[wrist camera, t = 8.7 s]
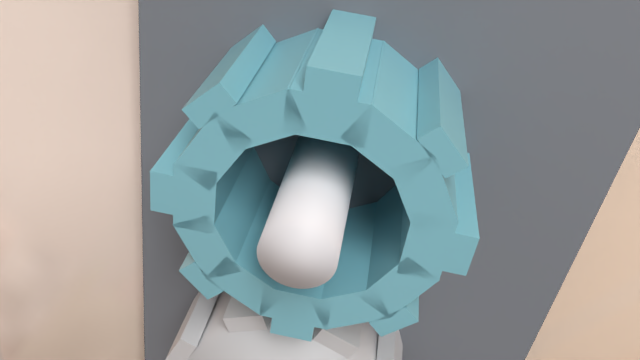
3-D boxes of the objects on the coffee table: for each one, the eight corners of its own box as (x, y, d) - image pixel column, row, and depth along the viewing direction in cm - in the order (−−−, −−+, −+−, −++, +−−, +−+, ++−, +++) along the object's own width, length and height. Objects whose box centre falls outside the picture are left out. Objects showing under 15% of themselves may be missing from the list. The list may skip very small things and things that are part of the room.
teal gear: (431, 270, 17) (432, 368, 14) (198, 222, 17) (151, 307, 14) (505, 41, 13) (527, 108, 10) (207, -15, 14) (148, 35, 11)
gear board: (461, 445, 23) (471, 623, 18) (160, 377, 24) (88, 531, 19) (683, -31, 13) (835, 68, 8) (162, -128, 14) (14, -89, 9)
